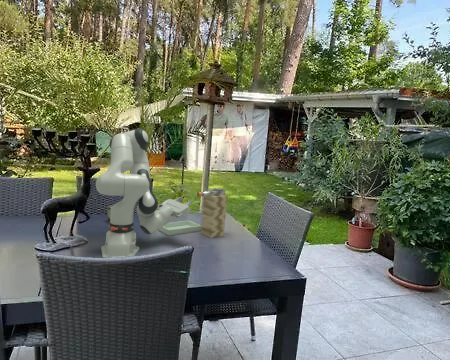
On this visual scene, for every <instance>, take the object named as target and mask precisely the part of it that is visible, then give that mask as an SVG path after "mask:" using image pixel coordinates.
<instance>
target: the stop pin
mask: <svg viewBox="0 0 450 360" xmlns="http://www.w3.org/2000/svg"><path fill="white" fill-rule="evenodd" d="M217 191H218V190H217ZM196 195H197V197H198V198H200V197H204V196H208V195H211V191H208V192H206V191H201V192H200V191H199V192H197V193H196Z"/></svg>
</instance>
